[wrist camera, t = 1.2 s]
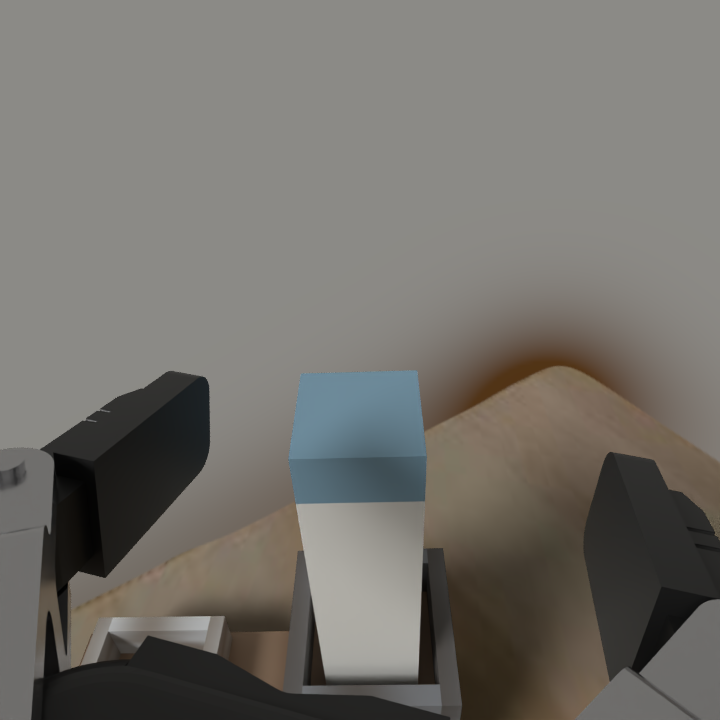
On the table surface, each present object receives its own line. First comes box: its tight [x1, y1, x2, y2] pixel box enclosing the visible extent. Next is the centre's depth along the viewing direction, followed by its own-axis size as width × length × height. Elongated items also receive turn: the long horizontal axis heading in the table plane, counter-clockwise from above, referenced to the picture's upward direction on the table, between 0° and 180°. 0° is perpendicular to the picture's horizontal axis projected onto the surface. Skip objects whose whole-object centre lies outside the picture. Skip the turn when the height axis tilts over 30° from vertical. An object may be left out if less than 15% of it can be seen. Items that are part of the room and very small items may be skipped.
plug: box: [289, 371, 427, 686], centre depth 23 cm, size 4×4×15 cm
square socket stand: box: [79, 548, 462, 720], centre depth 29 cm, size 21×8×10 cm, turn 90°
